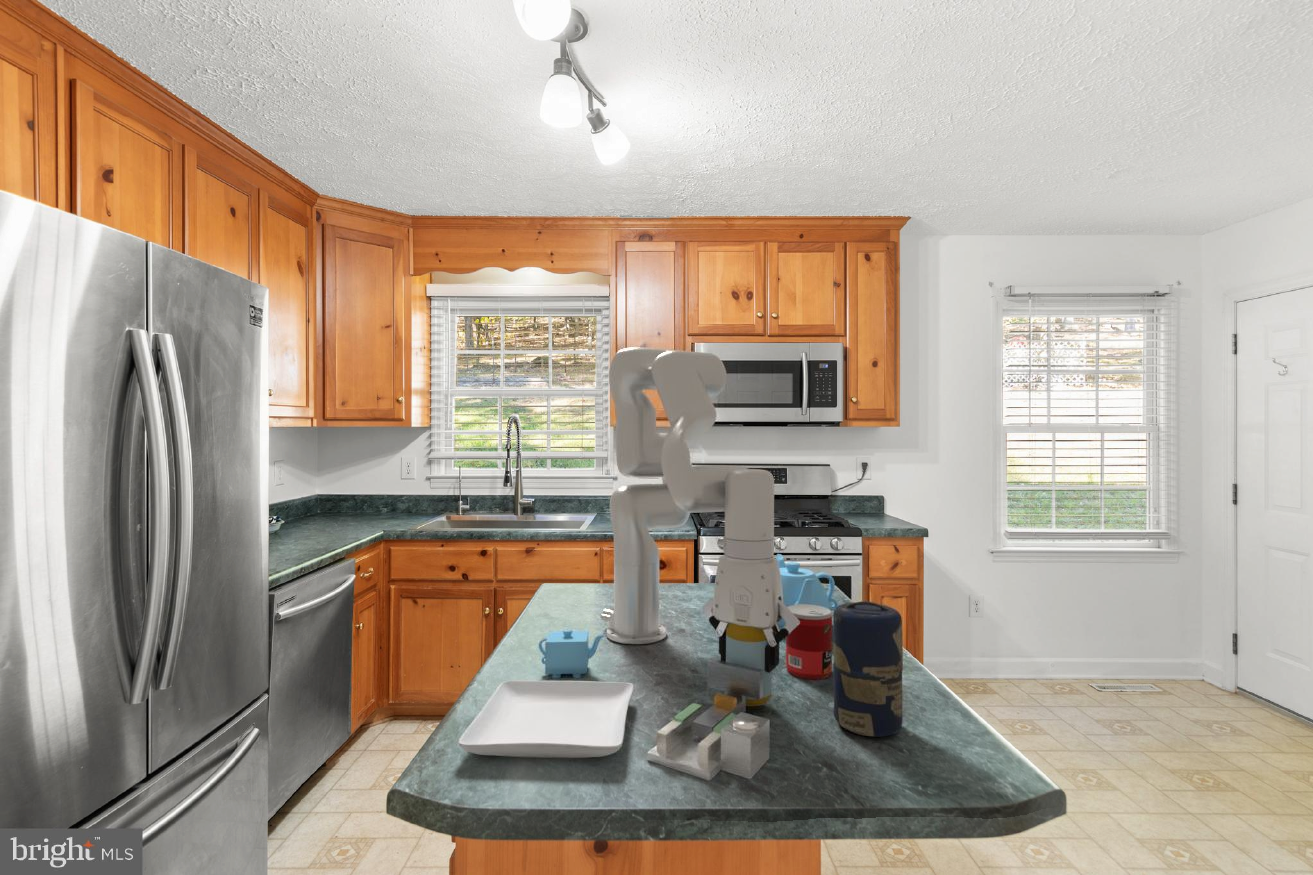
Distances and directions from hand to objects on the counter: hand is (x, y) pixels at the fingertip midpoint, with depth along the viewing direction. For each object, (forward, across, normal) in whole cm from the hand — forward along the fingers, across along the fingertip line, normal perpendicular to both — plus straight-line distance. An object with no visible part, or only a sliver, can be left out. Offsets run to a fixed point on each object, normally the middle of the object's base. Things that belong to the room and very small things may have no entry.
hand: (748, 663), depth 96 cm
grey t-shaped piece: (+5, 0, -10) cm, 11 cm away
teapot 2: (+7, -8, +43) cm, 45 cm away
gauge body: (+7, +2, -17) cm, 18 cm away
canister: (+7, +17, +3) cm, 19 cm away
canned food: (+7, +3, +19) cm, 21 cm away
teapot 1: (+7, -32, -4) cm, 33 cm away
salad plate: (+7, -20, -22) cm, 31 cm away
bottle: (+5, 0, 0) cm, 5 cm away
